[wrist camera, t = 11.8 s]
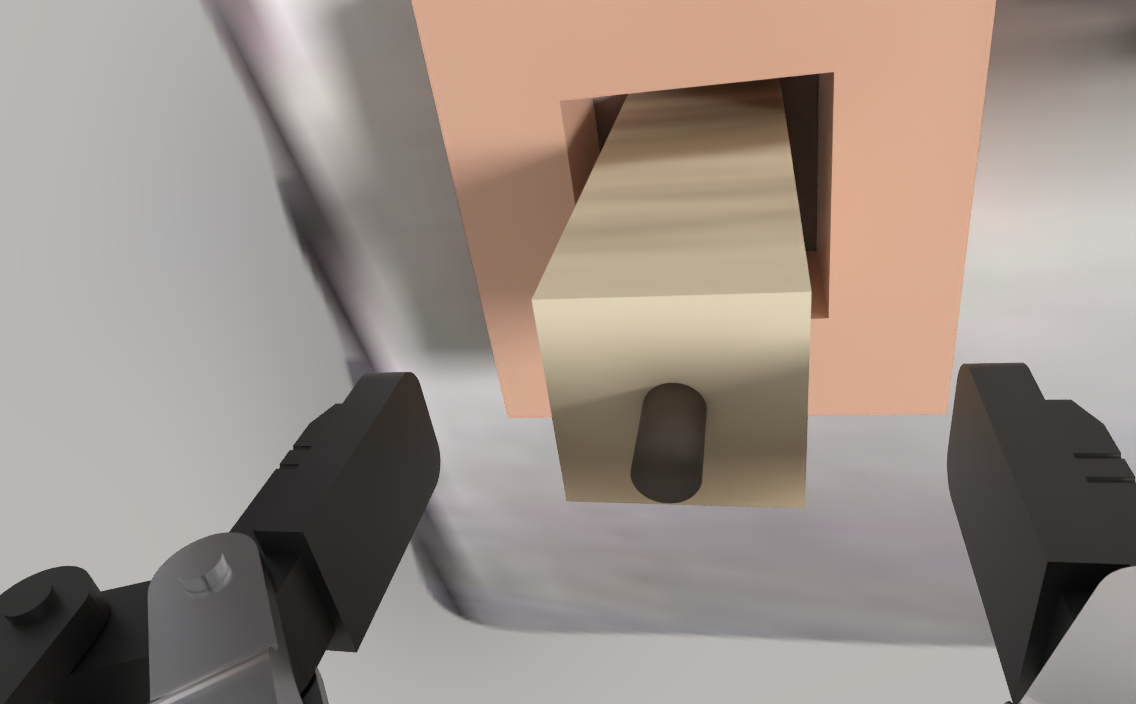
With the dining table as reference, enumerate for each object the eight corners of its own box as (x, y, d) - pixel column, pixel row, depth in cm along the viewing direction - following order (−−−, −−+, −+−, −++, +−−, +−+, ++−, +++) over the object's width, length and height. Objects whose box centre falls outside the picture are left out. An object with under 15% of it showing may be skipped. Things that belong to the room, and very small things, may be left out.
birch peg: (629, 91, 22) (504, 356, 10) (779, 78, 21) (820, 353, 10) (640, 226, 24) (547, 570, 13) (778, 220, 23) (811, 583, 12)
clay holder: (460, -45, 21) (405, -24, 17) (960, -122, 18) (1009, -115, 15) (537, 346, 27) (507, 417, 23) (919, 335, 24) (947, 414, 21)
